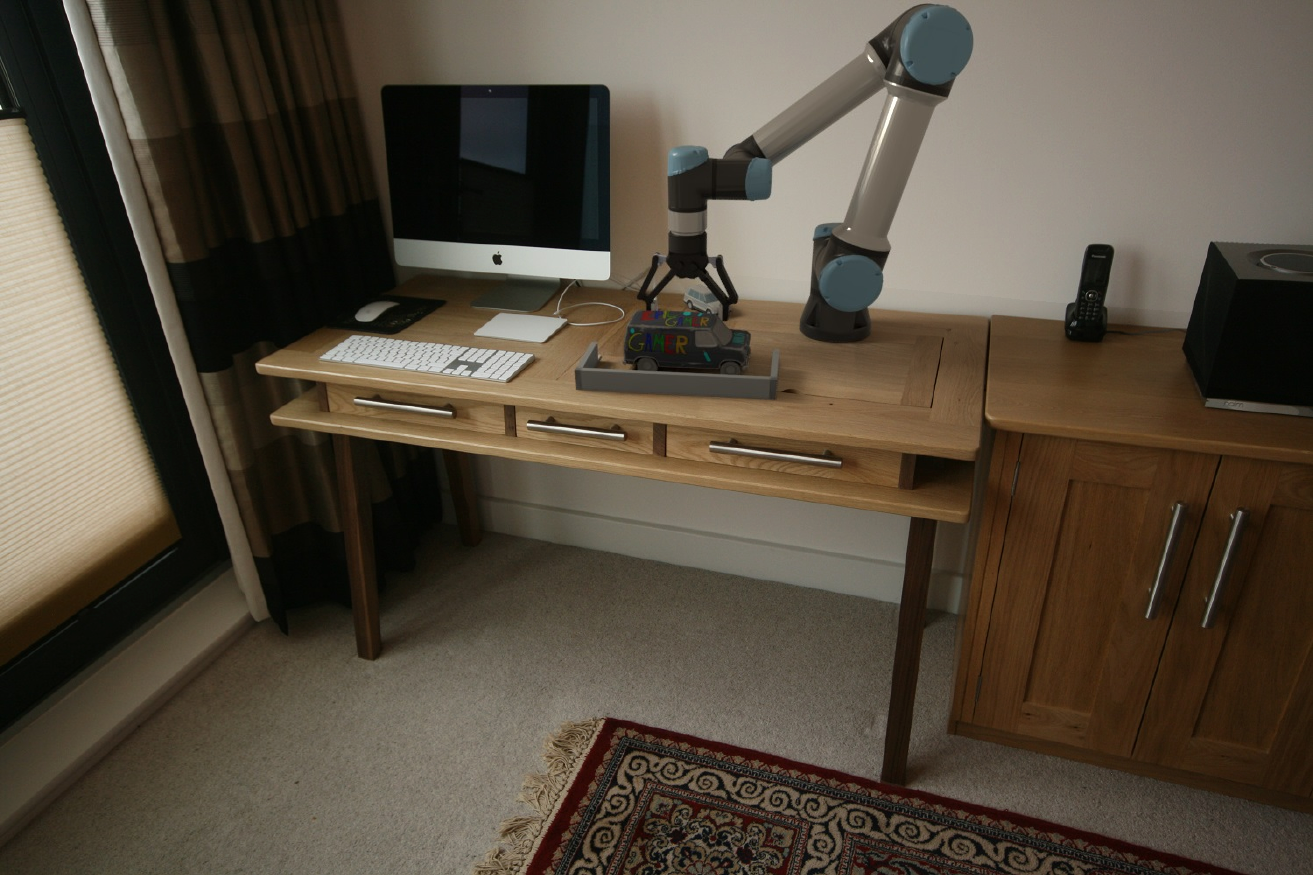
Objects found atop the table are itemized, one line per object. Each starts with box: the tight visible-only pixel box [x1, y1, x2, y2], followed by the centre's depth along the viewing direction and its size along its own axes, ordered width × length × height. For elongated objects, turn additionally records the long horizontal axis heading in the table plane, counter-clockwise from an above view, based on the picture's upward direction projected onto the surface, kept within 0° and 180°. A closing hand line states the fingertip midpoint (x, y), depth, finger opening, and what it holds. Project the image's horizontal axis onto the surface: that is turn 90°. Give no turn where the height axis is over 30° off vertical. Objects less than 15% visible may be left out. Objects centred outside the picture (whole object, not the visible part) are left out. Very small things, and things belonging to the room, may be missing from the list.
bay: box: [574, 341, 780, 401], centre depth 167 cm, size 37×17×4 cm, turn 81°
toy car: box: [683, 283, 732, 316], centre depth 200 cm, size 6×13×5 cm, turn 33°
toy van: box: [621, 309, 752, 375], centre depth 171 cm, size 11×25×10 cm, turn 80°
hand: (687, 334), depth 177 cm, fingers open, 13 cm apart
